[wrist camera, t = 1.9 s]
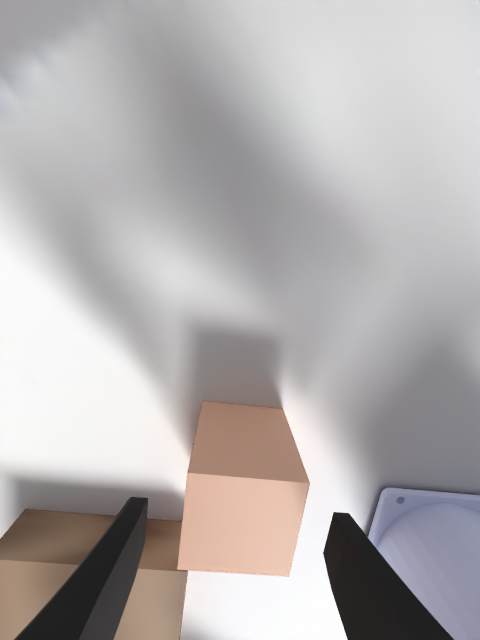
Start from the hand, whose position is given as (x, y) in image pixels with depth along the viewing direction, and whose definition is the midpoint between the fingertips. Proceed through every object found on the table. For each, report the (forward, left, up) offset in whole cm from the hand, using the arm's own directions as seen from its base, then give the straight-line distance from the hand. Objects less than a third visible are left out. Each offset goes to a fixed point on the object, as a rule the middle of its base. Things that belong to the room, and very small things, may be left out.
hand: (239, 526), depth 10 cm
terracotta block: (0, 0, -5) cm, 5 cm away
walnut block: (+7, +12, -5) cm, 15 cm away
